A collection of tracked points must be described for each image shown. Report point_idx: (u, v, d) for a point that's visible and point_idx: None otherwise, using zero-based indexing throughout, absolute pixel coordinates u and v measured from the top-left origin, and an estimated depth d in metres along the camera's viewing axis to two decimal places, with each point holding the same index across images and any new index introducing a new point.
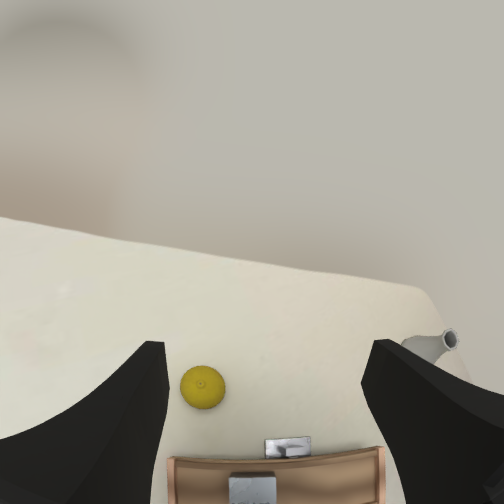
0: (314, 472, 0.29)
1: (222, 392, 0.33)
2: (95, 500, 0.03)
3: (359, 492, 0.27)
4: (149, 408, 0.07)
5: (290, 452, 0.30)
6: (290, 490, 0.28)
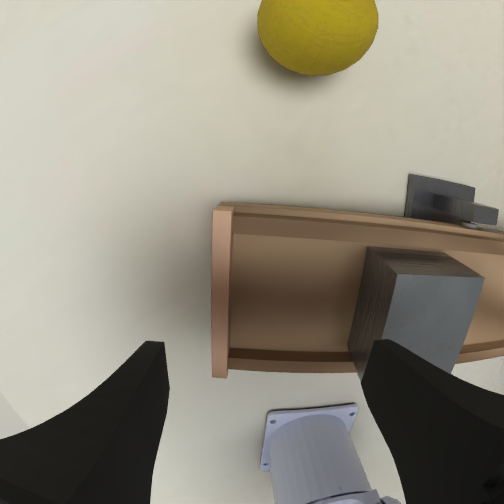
0: (495, 266, 0.15)
1: (375, 34, 0.10)
2: (95, 500, 0.03)
3: None
4: (149, 408, 0.07)
5: (479, 215, 0.14)
6: None
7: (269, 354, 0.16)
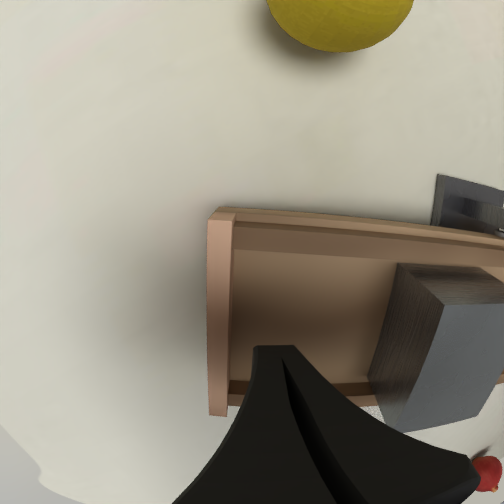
0: None
1: None
2: None
3: None
4: None
5: None
6: None
7: None
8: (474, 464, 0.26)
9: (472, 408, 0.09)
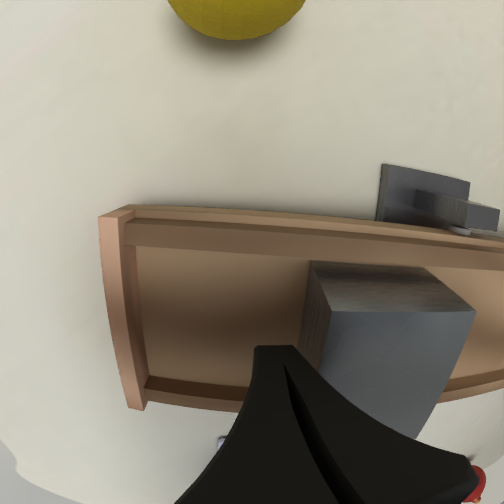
0: (494, 284, 0.11)
1: None
2: None
3: None
4: None
5: (474, 217, 0.10)
6: None
7: (192, 387, 0.13)
8: None
9: (407, 430, 0.09)
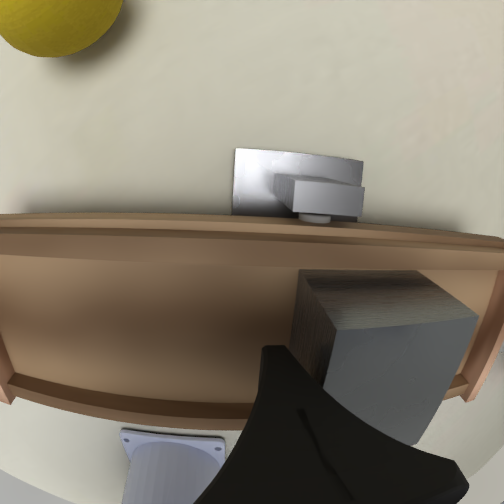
0: None
1: None
2: None
3: None
4: None
5: (310, 199, 0.10)
6: None
7: (43, 386, 0.11)
8: None
9: (408, 437, 0.09)
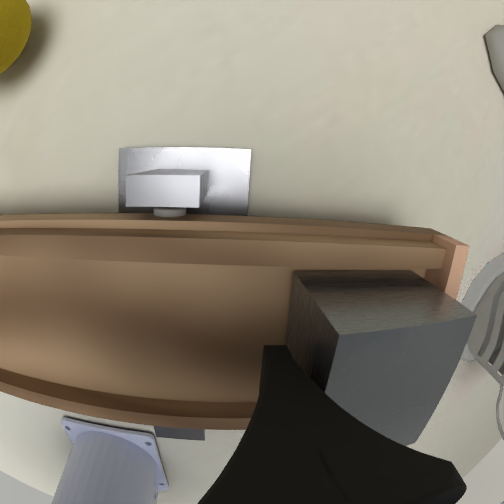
0: (233, 283, 0.11)
1: None
2: None
3: None
4: None
5: (141, 193, 0.09)
6: (154, 334, 0.11)
7: None
8: None
9: (407, 437, 0.09)
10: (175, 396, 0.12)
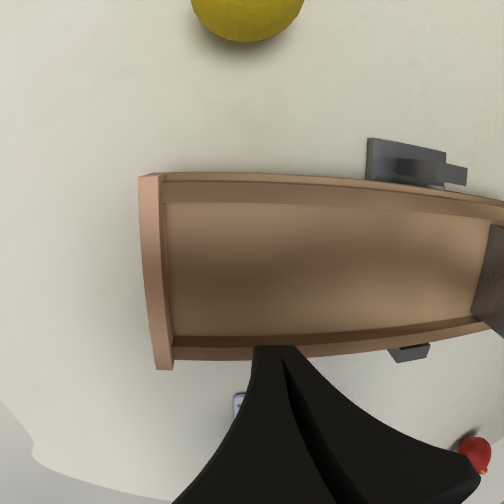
0: (469, 231, 0.15)
1: None
2: None
3: None
4: None
5: (443, 173, 0.13)
6: (427, 268, 0.15)
7: (217, 341, 0.15)
8: (461, 445, 0.29)
9: None
10: (422, 319, 0.16)
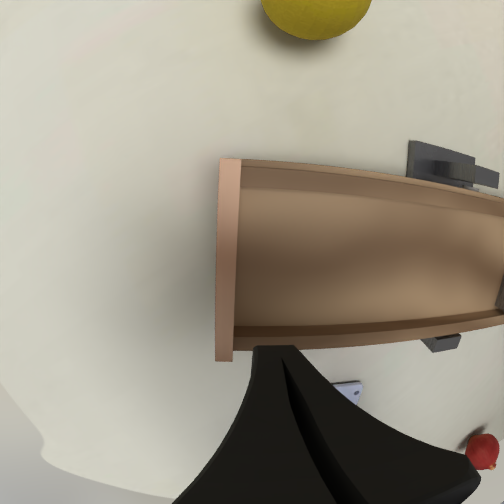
0: (498, 230, 0.15)
1: None
2: None
3: None
4: None
5: (481, 176, 0.13)
6: (464, 262, 0.15)
7: (278, 330, 0.15)
8: (471, 442, 0.29)
9: None
10: (456, 311, 0.16)
